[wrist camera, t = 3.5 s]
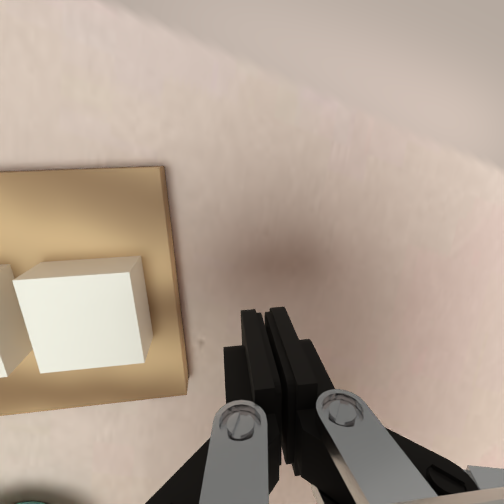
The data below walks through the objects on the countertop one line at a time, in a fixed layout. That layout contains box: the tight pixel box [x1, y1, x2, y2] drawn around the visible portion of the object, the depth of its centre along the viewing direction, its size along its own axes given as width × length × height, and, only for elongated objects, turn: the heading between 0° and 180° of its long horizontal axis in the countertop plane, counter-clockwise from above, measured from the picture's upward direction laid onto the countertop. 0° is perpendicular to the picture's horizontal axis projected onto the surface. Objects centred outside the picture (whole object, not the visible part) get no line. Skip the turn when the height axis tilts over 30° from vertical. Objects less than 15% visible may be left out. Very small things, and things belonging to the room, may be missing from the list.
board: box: [0, 166, 189, 416], centre depth 17 cm, size 14×16×2 cm
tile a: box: [12, 256, 153, 373], centre depth 16 cm, size 5×5×2 cm
